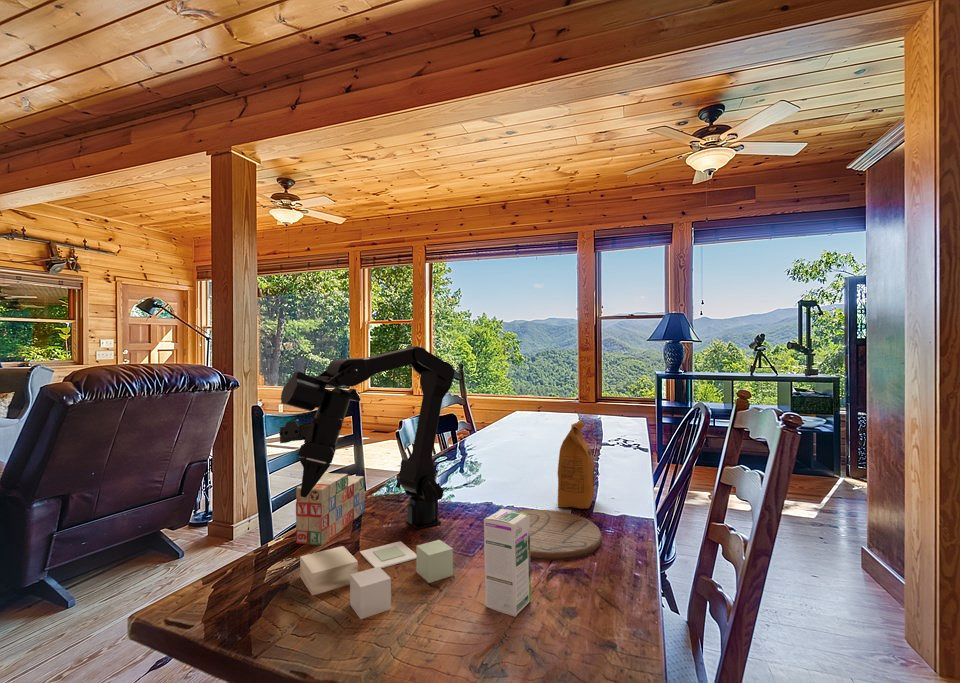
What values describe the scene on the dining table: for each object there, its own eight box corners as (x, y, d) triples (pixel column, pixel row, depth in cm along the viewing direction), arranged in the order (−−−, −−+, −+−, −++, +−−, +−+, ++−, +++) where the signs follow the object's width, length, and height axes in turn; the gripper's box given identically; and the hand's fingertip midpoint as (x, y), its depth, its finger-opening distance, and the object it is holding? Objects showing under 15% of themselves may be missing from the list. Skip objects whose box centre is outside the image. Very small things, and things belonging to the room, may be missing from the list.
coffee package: (600, 499, 129) (599, 421, 129) (590, 513, 117) (589, 427, 118) (565, 495, 133) (564, 418, 133) (552, 508, 122) (552, 424, 122)
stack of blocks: (342, 510, 120) (343, 463, 121) (365, 512, 119) (365, 464, 120) (295, 544, 99) (295, 486, 100) (321, 546, 98) (322, 488, 99)
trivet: (611, 528, 109) (611, 520, 109) (583, 572, 87) (582, 562, 87) (515, 510, 121) (515, 503, 121) (468, 546, 99) (468, 537, 99)
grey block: (379, 596, 78) (379, 566, 78) (390, 609, 74) (390, 578, 74) (350, 605, 75) (350, 574, 75) (360, 619, 71) (360, 587, 71)
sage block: (439, 565, 89) (439, 539, 89) (452, 575, 85) (452, 548, 85) (416, 572, 86) (416, 545, 87) (428, 583, 82) (428, 555, 82)
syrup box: (515, 618, 71) (515, 524, 72) (483, 607, 74) (483, 517, 75) (531, 601, 76) (531, 513, 77) (500, 591, 79) (500, 506, 80)
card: (400, 542, 100) (400, 540, 100) (418, 557, 92) (418, 555, 92) (359, 552, 95) (359, 550, 95) (376, 569, 87) (376, 567, 87)
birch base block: (343, 566, 89) (343, 545, 89) (357, 583, 83) (357, 561, 83) (300, 578, 85) (300, 556, 85) (312, 597, 78) (312, 573, 78)
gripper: (294, 408, 102) (270, 479, 98) (285, 404, 85) (254, 490, 81) (344, 421, 105) (322, 491, 101) (345, 419, 87) (318, 504, 83)
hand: (304, 493), depth 91 cm, fingers open, 9 cm apart
